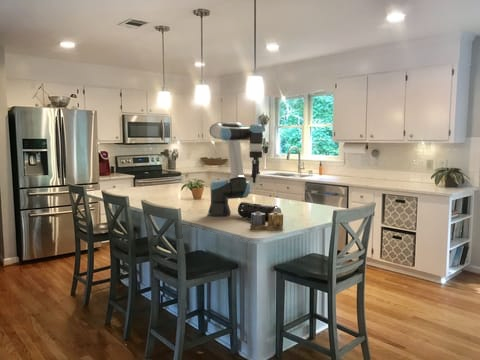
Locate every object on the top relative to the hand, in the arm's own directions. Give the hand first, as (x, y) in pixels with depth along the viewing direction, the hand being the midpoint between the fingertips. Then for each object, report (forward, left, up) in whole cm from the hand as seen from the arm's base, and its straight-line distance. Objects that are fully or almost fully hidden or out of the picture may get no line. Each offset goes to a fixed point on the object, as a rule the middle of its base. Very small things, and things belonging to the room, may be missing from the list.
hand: (255, 186), depth 234 cm
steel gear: (+3, -10, -21) cm, 23 cm away
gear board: (+8, -10, -23) cm, 26 cm away
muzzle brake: (+2, +11, -23) cm, 25 cm away
